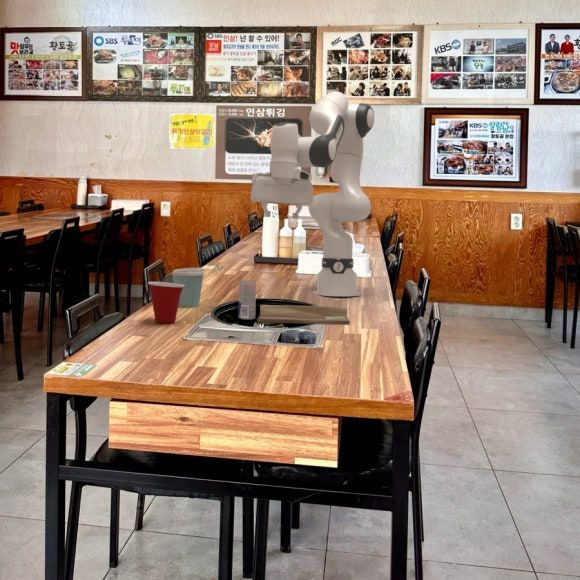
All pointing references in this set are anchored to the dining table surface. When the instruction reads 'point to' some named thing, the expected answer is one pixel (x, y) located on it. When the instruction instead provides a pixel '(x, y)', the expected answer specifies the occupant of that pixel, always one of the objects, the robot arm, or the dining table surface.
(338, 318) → the walnut board
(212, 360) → the dining table surface
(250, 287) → the energy drink
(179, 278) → the disposable coffee cup
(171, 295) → the plastic cup
